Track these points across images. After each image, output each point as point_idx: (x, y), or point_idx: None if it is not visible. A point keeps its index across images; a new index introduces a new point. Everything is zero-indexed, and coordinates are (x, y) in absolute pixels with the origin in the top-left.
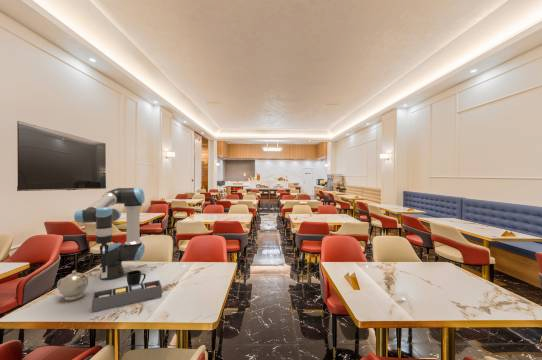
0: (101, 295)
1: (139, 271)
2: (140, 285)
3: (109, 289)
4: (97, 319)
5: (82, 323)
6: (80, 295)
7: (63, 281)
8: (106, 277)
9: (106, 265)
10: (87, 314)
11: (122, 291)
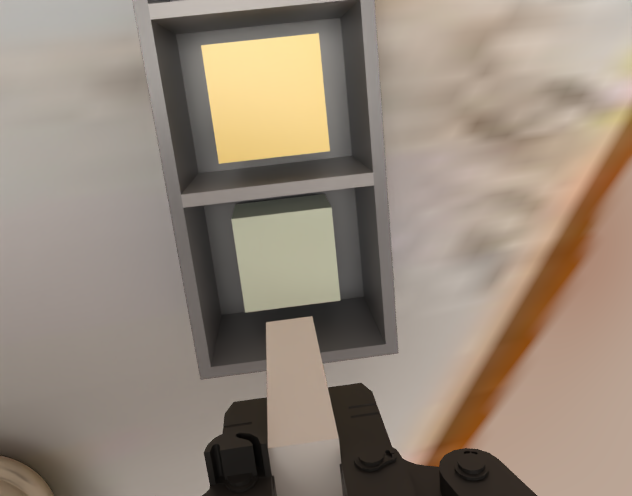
0: (205, 293)
1: None
2: None
3: (179, 235)
4: (522, 239)
5: (529, 326)
6: (8, 474)
7: None
8: (313, 324)
9: (493, 457)
10: None
11: (322, 73)
